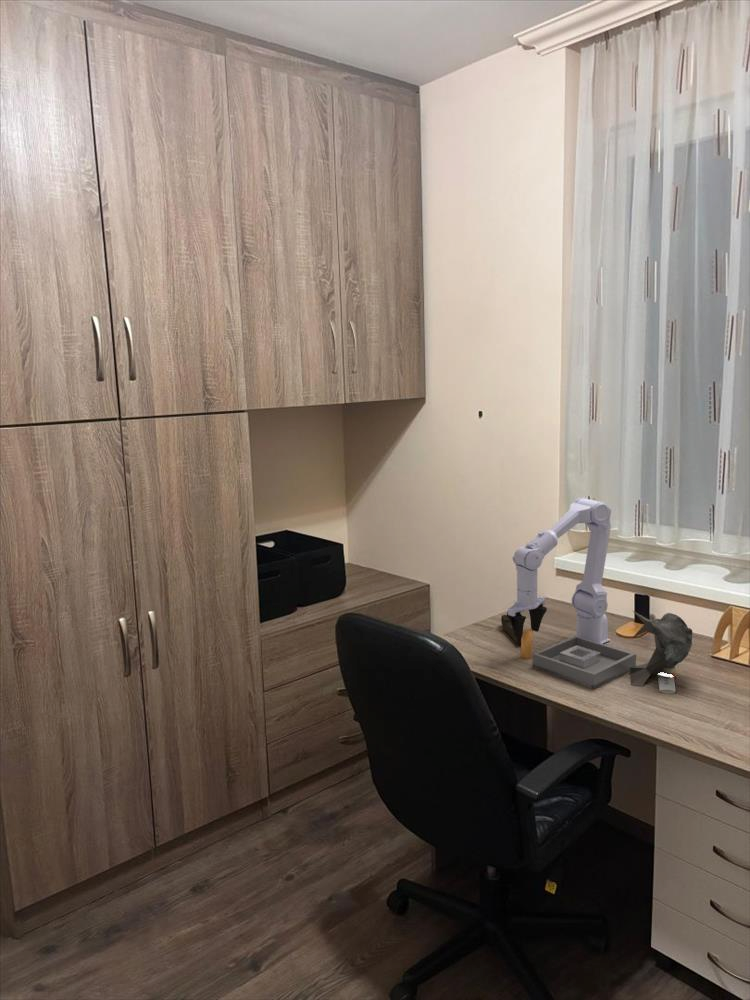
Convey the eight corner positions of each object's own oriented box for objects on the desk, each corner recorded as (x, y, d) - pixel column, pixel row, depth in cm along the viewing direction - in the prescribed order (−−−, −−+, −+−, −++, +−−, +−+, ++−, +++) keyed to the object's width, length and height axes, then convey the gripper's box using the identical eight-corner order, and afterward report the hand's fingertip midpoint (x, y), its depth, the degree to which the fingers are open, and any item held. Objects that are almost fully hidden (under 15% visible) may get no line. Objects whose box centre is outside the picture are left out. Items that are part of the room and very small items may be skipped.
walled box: (574, 648, 224) (575, 635, 224) (635, 667, 209) (636, 653, 209) (532, 667, 212) (532, 653, 211) (594, 689, 197) (594, 674, 196)
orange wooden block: (525, 653, 222) (526, 627, 220) (534, 656, 219) (534, 630, 218) (518, 656, 220) (519, 630, 218) (527, 659, 217) (527, 633, 216)
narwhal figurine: (693, 691, 194) (696, 624, 190) (630, 685, 198) (632, 620, 195) (688, 669, 207) (691, 606, 204) (629, 664, 211) (631, 603, 208)
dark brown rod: (529, 647, 227) (530, 632, 227) (517, 648, 227) (517, 633, 226) (510, 626, 246) (510, 612, 245) (498, 626, 246) (498, 613, 245)
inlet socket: (576, 653, 218) (576, 645, 218) (600, 661, 212) (600, 652, 212) (559, 661, 213) (559, 652, 213) (583, 669, 207) (583, 660, 206)
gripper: (531, 580, 223) (531, 624, 226) (499, 591, 214) (499, 636, 217) (551, 585, 218) (550, 630, 220) (519, 596, 209) (518, 643, 211)
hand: (526, 633), depth 218 cm, fingers open, 7 cm apart
